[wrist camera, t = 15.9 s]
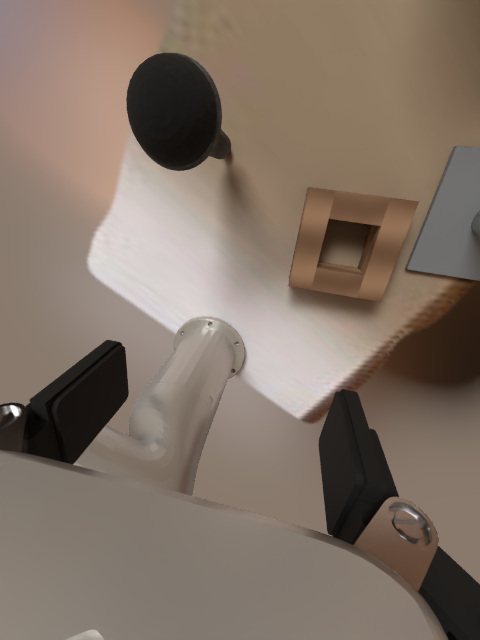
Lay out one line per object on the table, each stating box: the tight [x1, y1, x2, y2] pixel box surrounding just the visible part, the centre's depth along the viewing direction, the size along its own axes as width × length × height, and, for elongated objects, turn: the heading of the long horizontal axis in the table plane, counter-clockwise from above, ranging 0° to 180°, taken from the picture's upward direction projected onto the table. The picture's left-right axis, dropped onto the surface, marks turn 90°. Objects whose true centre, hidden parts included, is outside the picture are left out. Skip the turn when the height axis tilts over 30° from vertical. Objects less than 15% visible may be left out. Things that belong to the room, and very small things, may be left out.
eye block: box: [289, 187, 419, 302], centre depth 35 cm, size 12×12×4 cm
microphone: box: [127, 53, 231, 171], centre depth 25 cm, size 7×7×20 cm
